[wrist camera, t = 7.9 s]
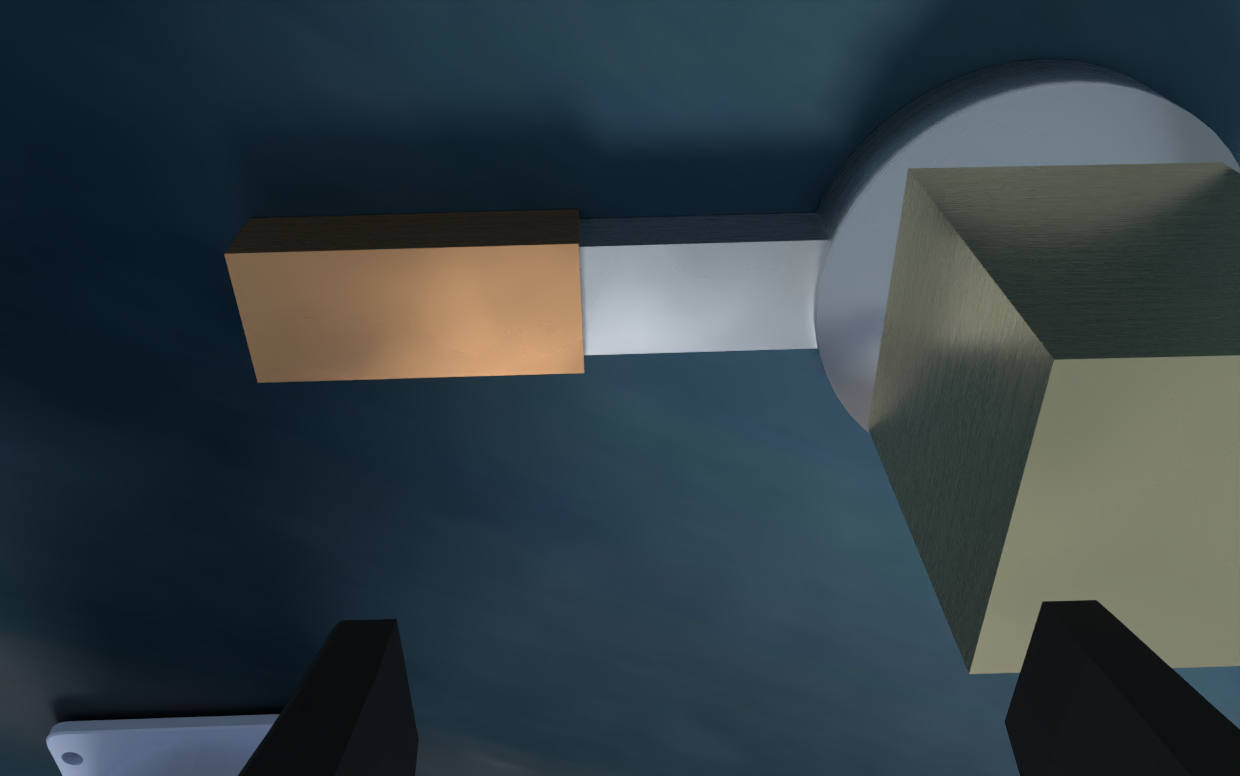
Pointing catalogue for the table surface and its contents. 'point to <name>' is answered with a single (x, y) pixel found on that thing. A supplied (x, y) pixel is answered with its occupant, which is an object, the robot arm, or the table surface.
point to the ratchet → (672, 252)
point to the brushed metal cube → (1069, 400)
